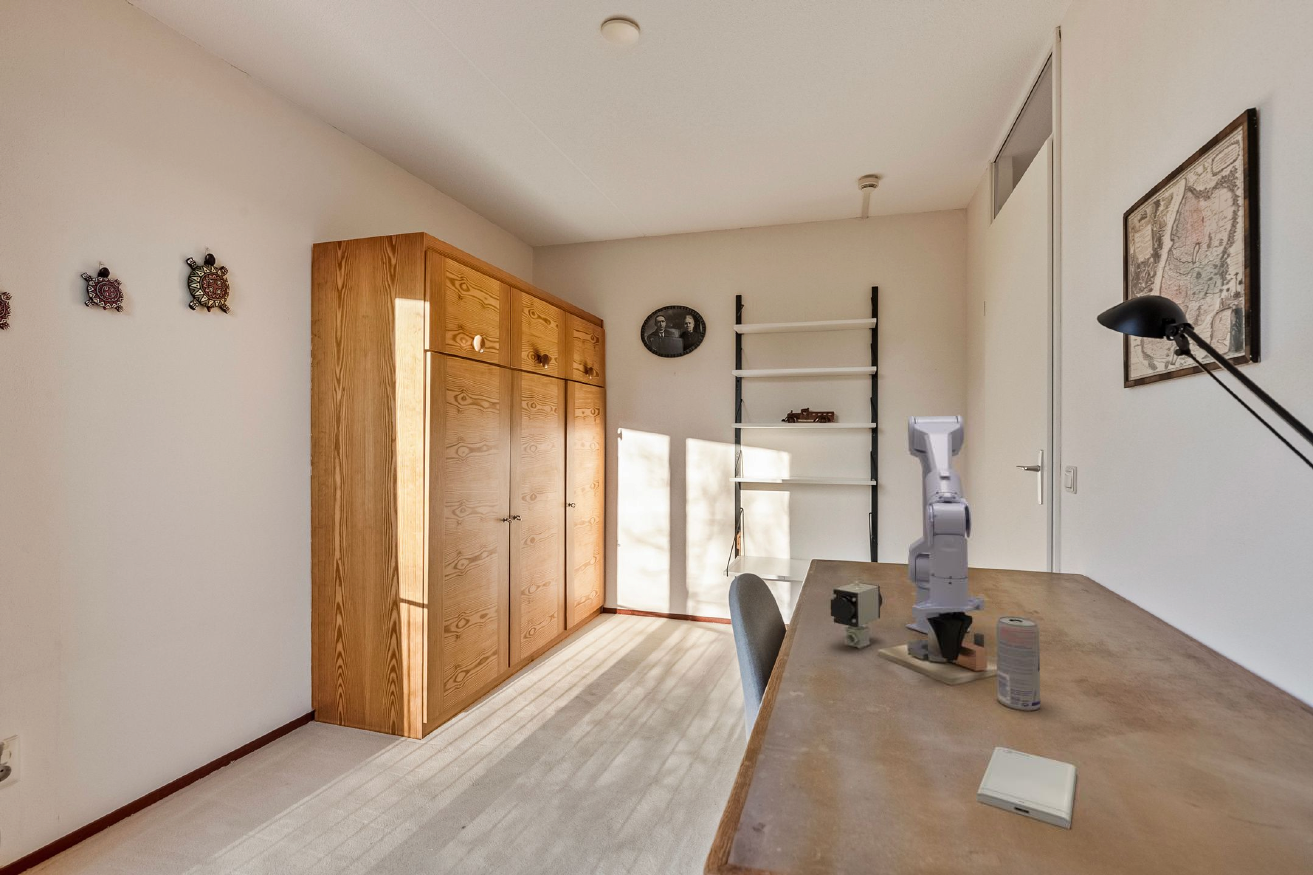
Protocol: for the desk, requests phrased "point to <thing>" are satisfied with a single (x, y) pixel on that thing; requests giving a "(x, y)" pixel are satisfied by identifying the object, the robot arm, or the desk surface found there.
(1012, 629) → the energy drink
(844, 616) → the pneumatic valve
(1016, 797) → the hard drive
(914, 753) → the desk surface
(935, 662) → the board
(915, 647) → the segmented ring with bar
